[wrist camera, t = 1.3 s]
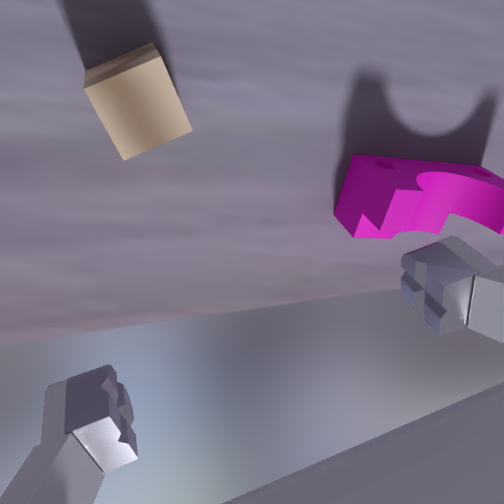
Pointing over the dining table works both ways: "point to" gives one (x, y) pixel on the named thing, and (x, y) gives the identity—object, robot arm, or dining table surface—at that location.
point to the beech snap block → (136, 101)
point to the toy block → (416, 196)
